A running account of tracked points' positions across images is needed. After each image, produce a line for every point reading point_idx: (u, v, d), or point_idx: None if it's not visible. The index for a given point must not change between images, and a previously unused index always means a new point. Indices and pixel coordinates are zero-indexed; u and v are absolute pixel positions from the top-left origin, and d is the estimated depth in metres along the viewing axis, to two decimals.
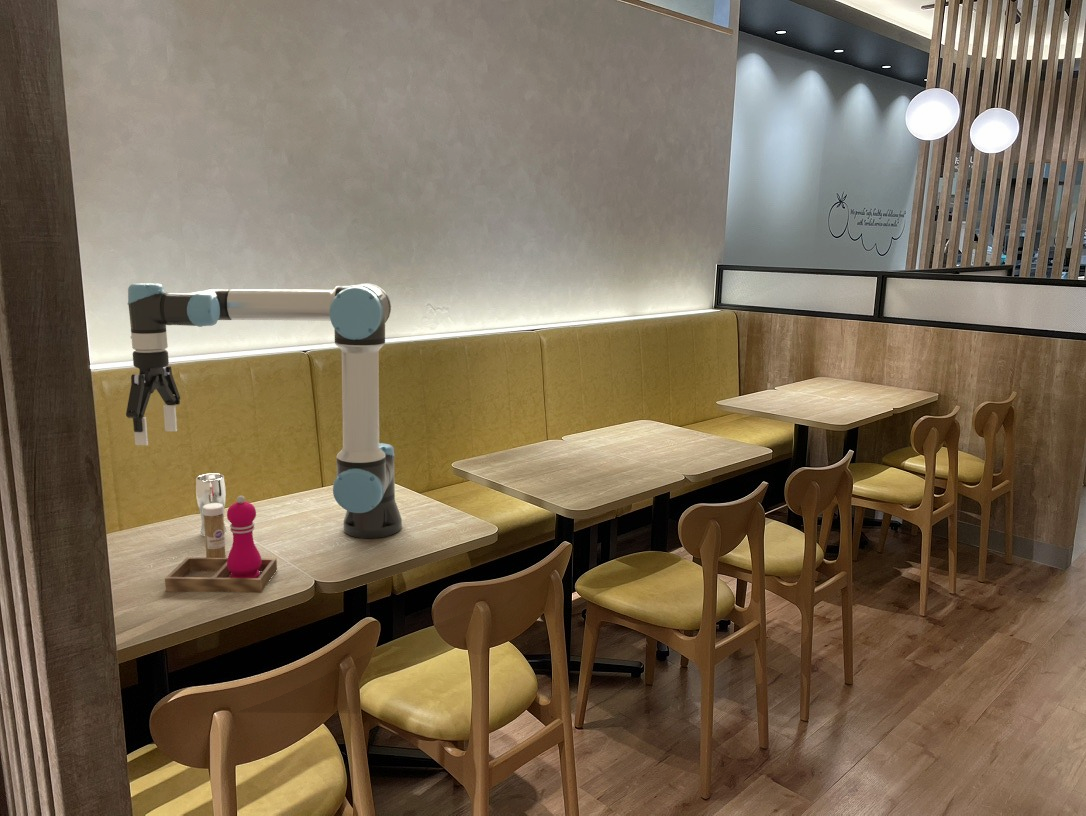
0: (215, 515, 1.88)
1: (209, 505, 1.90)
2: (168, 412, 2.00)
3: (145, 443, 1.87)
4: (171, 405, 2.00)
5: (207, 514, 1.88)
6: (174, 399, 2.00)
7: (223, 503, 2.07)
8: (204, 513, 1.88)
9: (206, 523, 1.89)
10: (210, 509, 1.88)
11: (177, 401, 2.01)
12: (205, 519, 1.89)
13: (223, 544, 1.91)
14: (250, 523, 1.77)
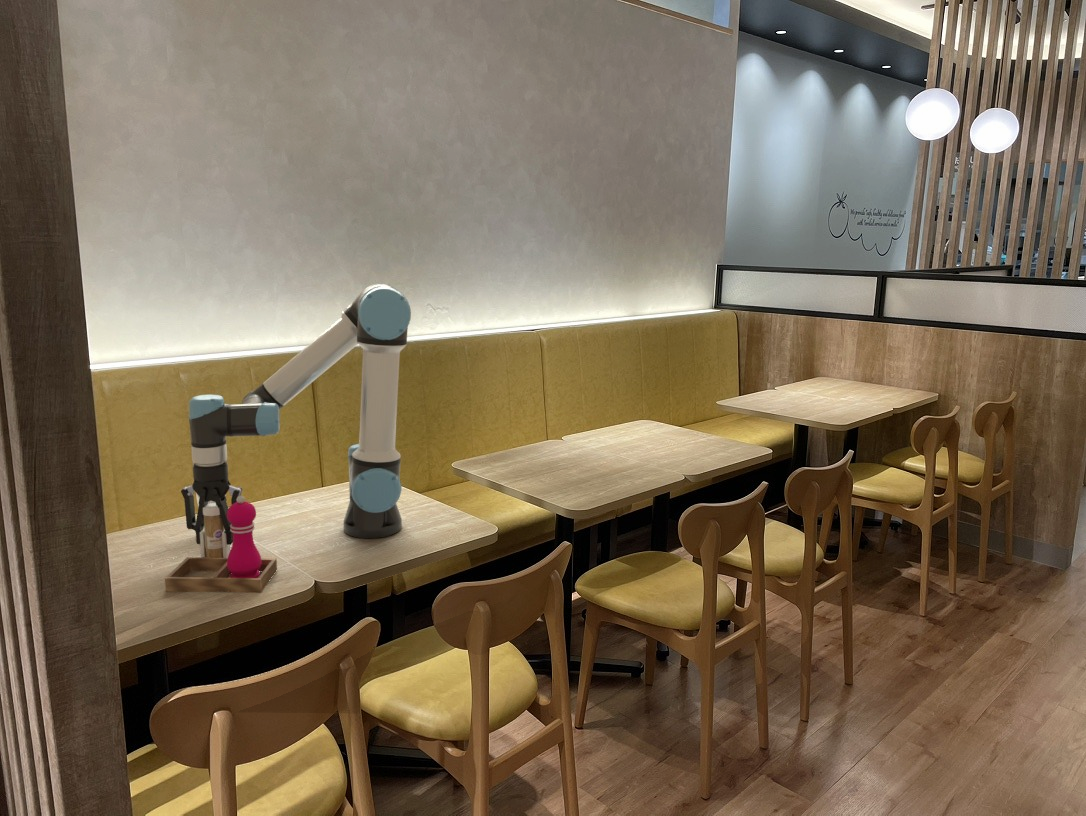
0: (215, 515, 1.88)
1: (209, 505, 1.90)
2: None
3: None
4: None
5: (207, 514, 1.88)
6: (226, 526, 1.90)
7: None
8: (204, 513, 1.88)
9: (206, 523, 1.89)
10: (210, 509, 1.88)
11: (227, 530, 1.89)
12: (205, 519, 1.89)
13: None
14: (250, 523, 1.77)
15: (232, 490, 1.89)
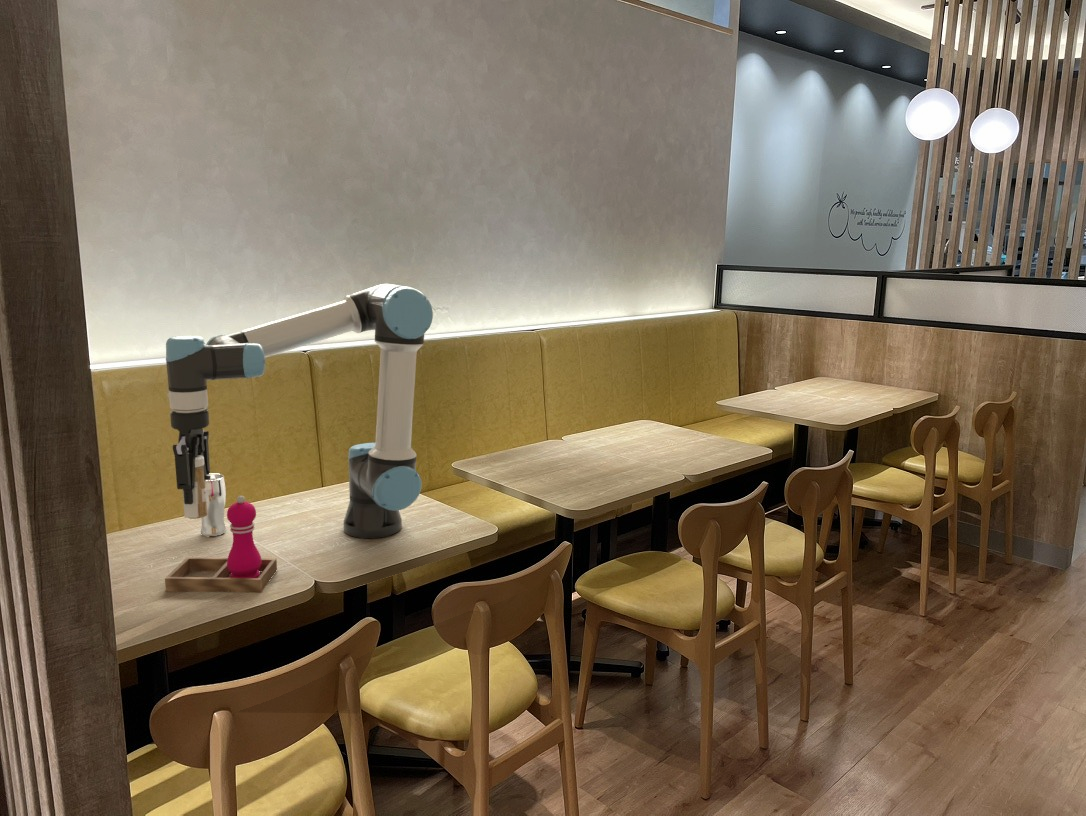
0: None
1: None
2: None
3: (196, 515, 1.74)
4: None
5: (202, 464, 1.75)
6: (205, 473, 1.79)
7: (223, 503, 2.07)
8: (198, 464, 1.74)
9: (200, 475, 1.75)
10: (202, 457, 1.75)
11: (208, 476, 1.80)
12: (198, 471, 1.74)
13: None
14: (250, 523, 1.77)
15: (202, 433, 1.79)
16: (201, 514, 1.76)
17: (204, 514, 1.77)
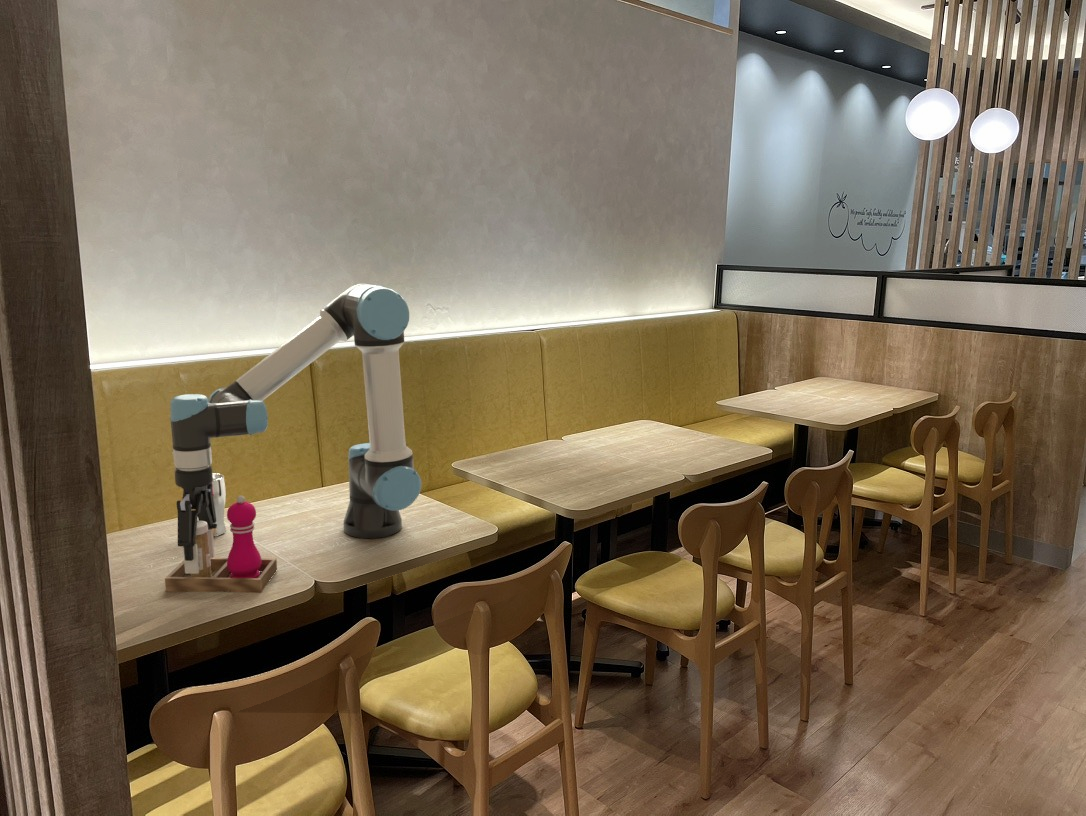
0: None
1: None
2: None
3: (196, 571, 1.75)
4: (208, 530, 1.83)
5: (206, 530, 1.78)
6: (211, 522, 1.83)
7: (223, 503, 2.07)
8: (202, 531, 1.77)
9: (204, 541, 1.78)
10: (206, 524, 1.78)
11: (214, 525, 1.84)
12: (202, 538, 1.77)
13: None
14: (250, 523, 1.77)
15: None
16: None
17: None
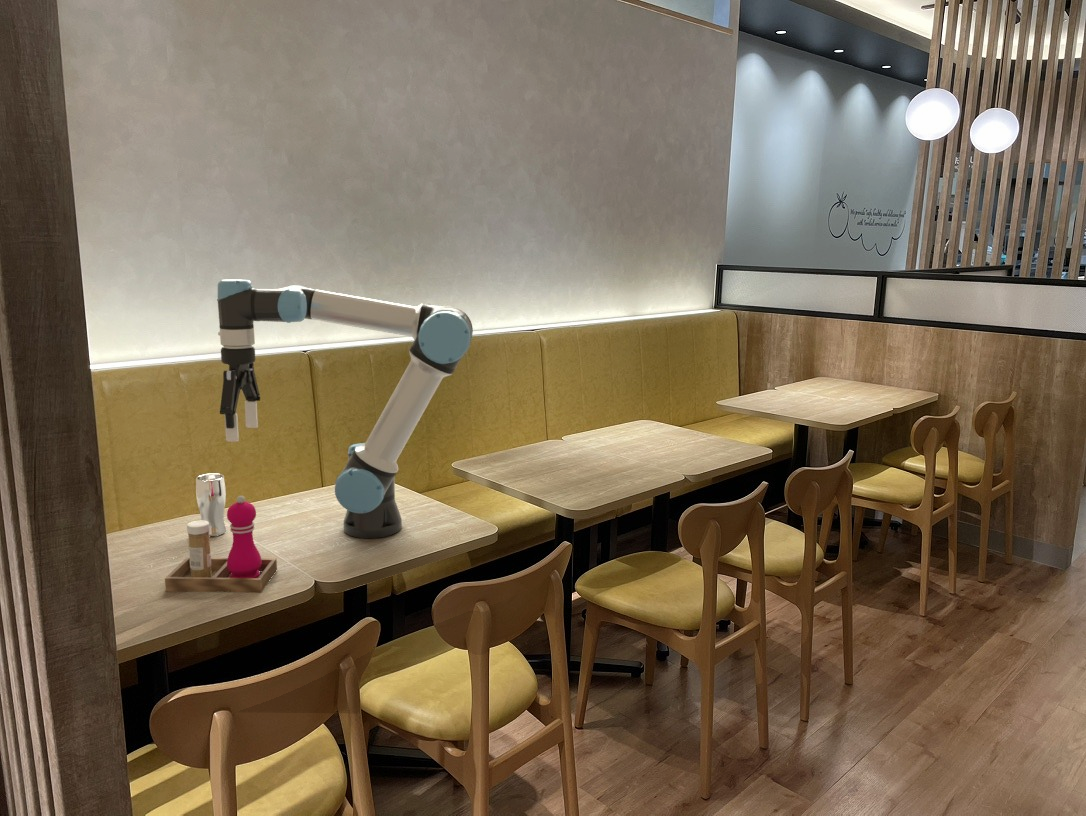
0: None
1: (196, 524, 1.77)
2: (249, 408, 2.00)
3: (236, 439, 1.87)
4: (252, 401, 2.00)
5: (207, 530, 1.78)
6: (255, 395, 2.00)
7: (223, 503, 2.07)
8: (204, 531, 1.77)
9: (205, 541, 1.78)
10: (208, 523, 1.79)
11: (258, 397, 2.01)
12: (204, 537, 1.78)
13: None
14: (250, 523, 1.77)
15: None
16: None
17: None
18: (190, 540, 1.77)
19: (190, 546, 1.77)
